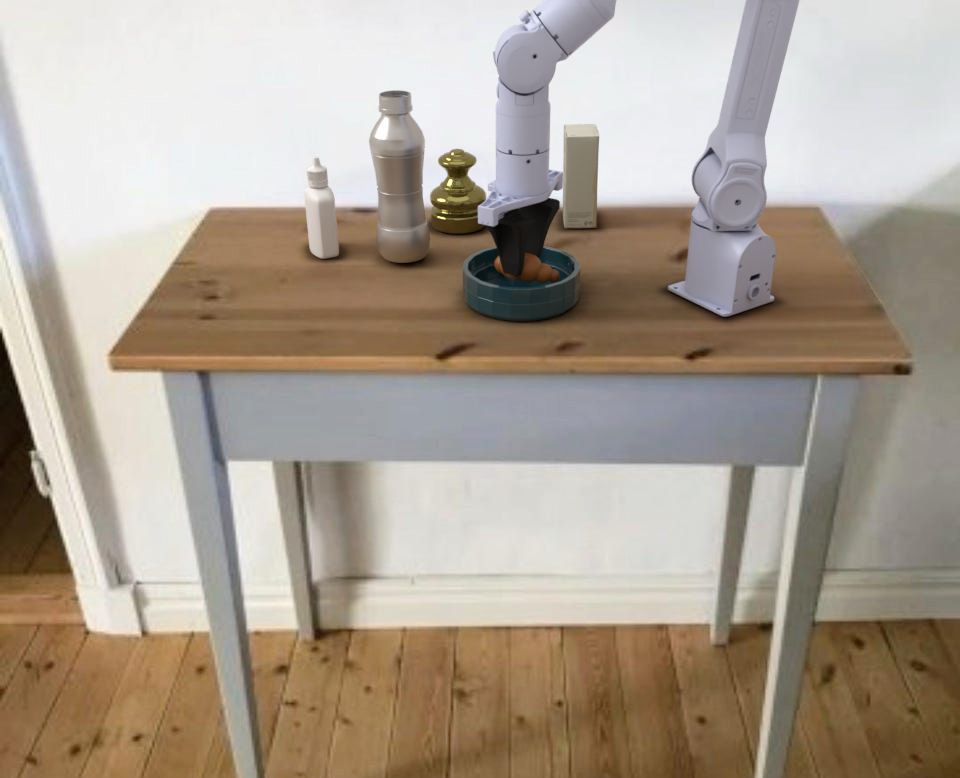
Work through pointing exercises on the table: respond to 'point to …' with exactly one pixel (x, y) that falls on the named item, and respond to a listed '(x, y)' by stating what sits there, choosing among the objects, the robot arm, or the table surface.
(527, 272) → the croissant
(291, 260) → the table surface
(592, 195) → the cosmetic box
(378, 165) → the plastic bottle
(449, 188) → the gold tiered knob
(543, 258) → the bowl
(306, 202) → the eye dropper bottle
